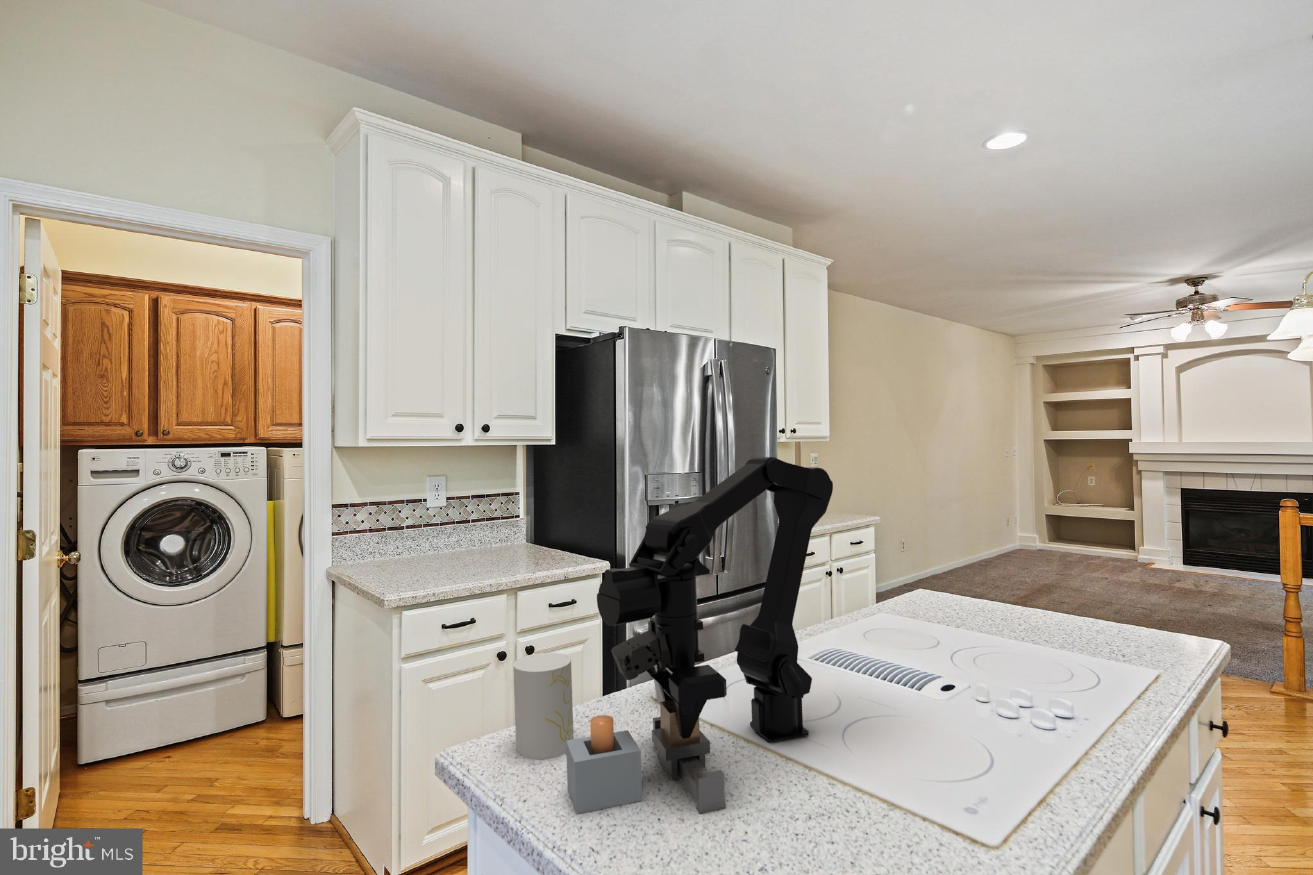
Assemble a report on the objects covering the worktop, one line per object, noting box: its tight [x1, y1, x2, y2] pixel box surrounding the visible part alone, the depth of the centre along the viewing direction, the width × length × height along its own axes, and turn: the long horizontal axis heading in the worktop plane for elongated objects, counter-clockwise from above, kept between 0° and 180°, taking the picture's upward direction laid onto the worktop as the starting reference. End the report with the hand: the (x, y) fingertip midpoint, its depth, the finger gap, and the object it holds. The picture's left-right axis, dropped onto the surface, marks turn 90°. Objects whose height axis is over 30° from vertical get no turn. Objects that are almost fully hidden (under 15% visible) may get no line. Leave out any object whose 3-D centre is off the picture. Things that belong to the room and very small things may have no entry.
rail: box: [652, 716, 726, 814], centre depth 85 cm, size 3×18×4 cm, turn 17°
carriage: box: [651, 700, 711, 780], centre depth 87 cm, size 6×6×8 cm
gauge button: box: [589, 714, 615, 754], centre depth 81 cm, size 3×3×4 cm
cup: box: [512, 652, 575, 760], centre depth 95 cm, size 8×8×12 cm
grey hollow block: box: [565, 730, 643, 815], centre depth 81 cm, size 8×6×6 cm
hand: (679, 730), depth 87 cm, fingers closed on carriage, 4 cm apart
